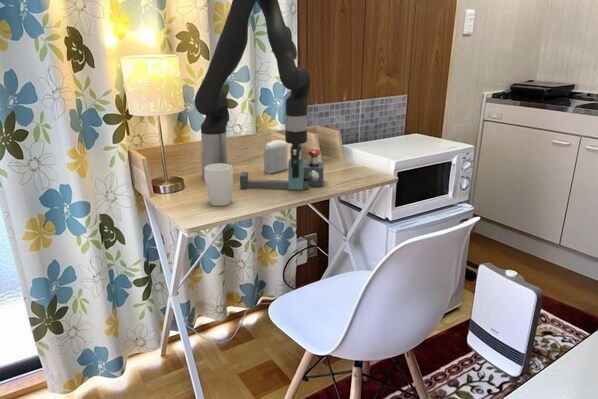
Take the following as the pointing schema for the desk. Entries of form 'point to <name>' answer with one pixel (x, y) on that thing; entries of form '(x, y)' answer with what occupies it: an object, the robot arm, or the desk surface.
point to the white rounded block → (275, 156)
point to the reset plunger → (313, 157)
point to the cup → (219, 183)
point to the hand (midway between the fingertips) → (296, 174)
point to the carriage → (296, 182)
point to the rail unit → (311, 178)
